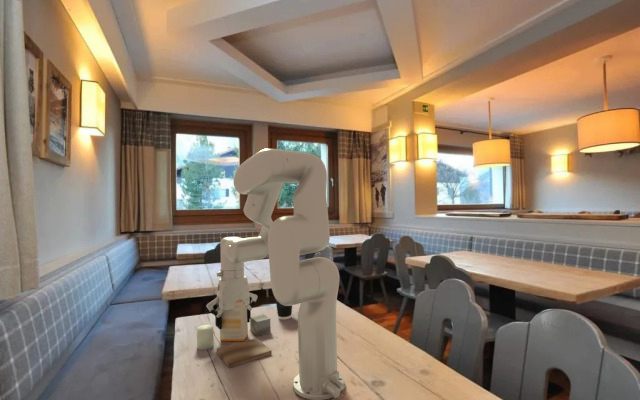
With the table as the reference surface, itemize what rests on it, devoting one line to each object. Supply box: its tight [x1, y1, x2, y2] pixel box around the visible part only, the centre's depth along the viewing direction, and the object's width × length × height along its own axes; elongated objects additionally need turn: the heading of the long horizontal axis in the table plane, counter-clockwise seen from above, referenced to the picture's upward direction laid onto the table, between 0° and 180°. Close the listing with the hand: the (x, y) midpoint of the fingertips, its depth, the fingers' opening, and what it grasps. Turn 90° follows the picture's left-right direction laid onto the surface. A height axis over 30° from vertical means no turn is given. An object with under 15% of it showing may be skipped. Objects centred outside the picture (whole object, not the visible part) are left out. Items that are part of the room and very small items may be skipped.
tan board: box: [216, 337, 273, 369], centre depth 99 cm, size 11×13×1 cm
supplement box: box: [219, 300, 249, 342], centre depth 110 cm, size 8×5×13 cm, turn 83°
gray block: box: [249, 313, 272, 337], centre depth 115 cm, size 6×5×5 cm
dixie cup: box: [275, 299, 293, 320], centre depth 129 cm, size 8×8×11 cm
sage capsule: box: [196, 324, 215, 351], centre depth 104 cm, size 5×5×6 cm
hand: (233, 324), depth 110 cm, fingers closed on supplement box, 9 cm apart
